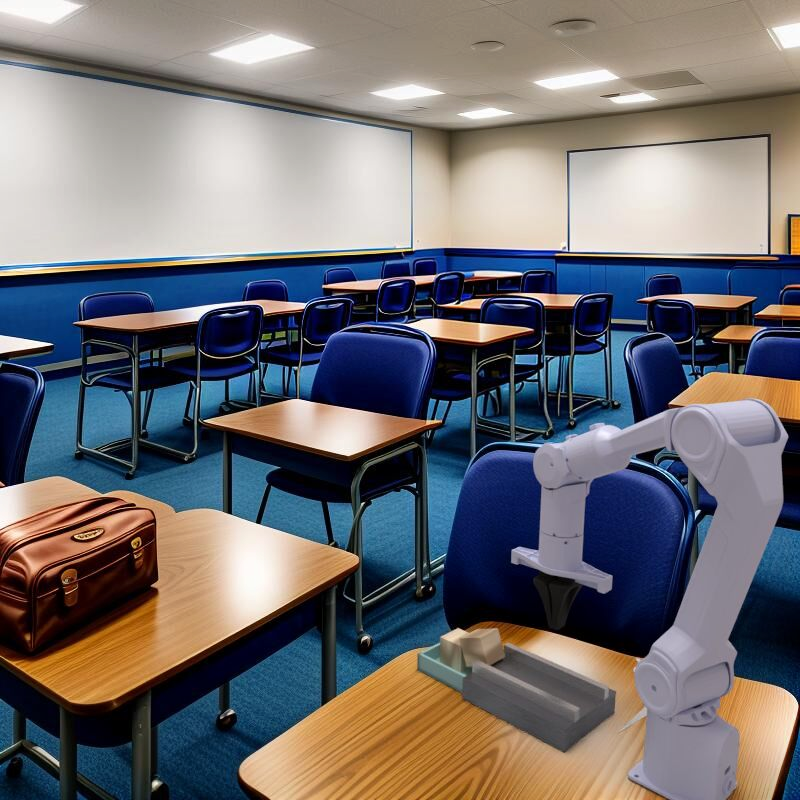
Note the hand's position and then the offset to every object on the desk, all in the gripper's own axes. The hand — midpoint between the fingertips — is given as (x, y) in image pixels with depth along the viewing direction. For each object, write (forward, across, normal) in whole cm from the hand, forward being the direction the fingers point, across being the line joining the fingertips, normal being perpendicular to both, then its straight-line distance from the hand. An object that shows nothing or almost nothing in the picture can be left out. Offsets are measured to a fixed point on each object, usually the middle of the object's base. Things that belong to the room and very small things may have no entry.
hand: (556, 626), depth 101 cm
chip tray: (+9, +12, +5) cm, 16 cm away
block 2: (+7, +8, +4) cm, 12 cm away
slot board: (+9, -1, +5) cm, 10 cm away
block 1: (+7, +11, +4) cm, 14 cm away
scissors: (+10, -11, -8) cm, 17 cm away
